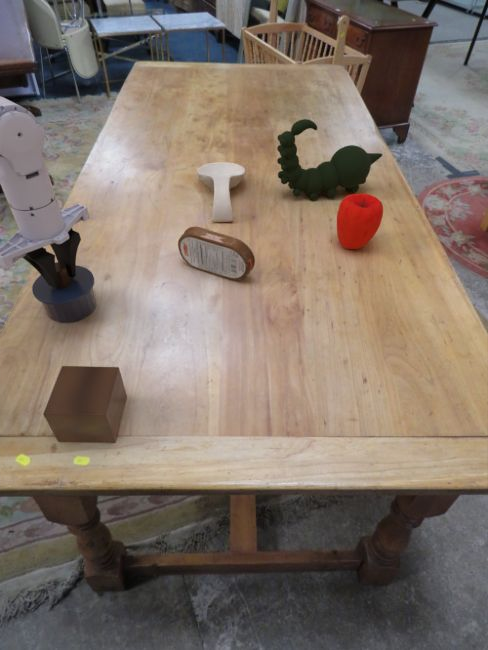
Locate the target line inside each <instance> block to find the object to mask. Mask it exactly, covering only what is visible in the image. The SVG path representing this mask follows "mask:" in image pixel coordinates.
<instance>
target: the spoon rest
mask: <svg viewBox="0 0 488 650" xmlns="http://www.w3.org/2000/svg"><path fill="white" fill-rule="evenodd" d="M196 174H197V176H198V178H199V179H200V180H201V182H202V183H203V184H205V186H207V187H209V188H210V189H211V190H212V191H213V203H212V210H211V211H212V212H211V221H212V222H213V223H214V222H215V223H222V222H223V223H224V222H225V223H228V222H230V223H231V222H233V221H234V212H233V207H232V202H231V194H230V190H232V189H233V188H235V187H237V186H238V185H239V184H240V183H241V182H242V181H243V179H244V177H245V175H246V168H244V166H242V165H241V164H238V163H235V162H229V161H215V162H208V163H204V164H201V166H199V167H198V168H197V170H196ZM231 188H232V189H231ZM229 189H230V190H229Z"/></svg>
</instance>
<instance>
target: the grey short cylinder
mask: <svg viewBox="0 0 488 650" xmlns="http://www.w3.org/2000/svg"><path fill="white" fill-rule="evenodd" d="M42 305H43V309H44V311H45V313H46V315H47V316H48V318H49V319H51V320H53V321H54V322H57V323H63V324H69V323H74V322H79V321H82V320H84V319H85V318H87V317H88V316H90V315H91V314H92V313H93V312H94V311H95V310H96V307H97V305H98V302H97V296H96V293H95V289H94V287H93V288H92V290H91V291H90V292H89V293H88V294H87V295H86V296H85V297H83V298H81V299H80V300H78V301H75V302H73V303H69V304H65V305H47V304H44V303H42Z"/></svg>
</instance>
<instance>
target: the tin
mask: <svg viewBox="0 0 488 650" xmlns="http://www.w3.org/2000/svg"><path fill="white" fill-rule="evenodd" d="M177 247H178V252H179V254H180V256H181V258H182V259H183V260H184V262H186V264H188V265H189V266H190V267H192V268H194V269H196V270H199V271H203V272H206V273H209V274H211V275H214V276H218V277H221V278H223V279H227V280H231V281H242V280H243V279H245V278H246V277H247V276H248V275H249V274H250V272H251V271H252V270H253V269H254V268H255V265H256V258H255V255H254V253H253V251H252V249H251V248H250V246H248V244H246V243H245V242H244V241H243V240H241V239H239V238H237V237H234V236H231V235H227V234H225V233H220V232H218V231H214V230H210V229H207V228H204V227H200V226H191V227H188V228H186V229H185V230H184V232H183V234H181V236H180V237H179V239H178V242H177Z"/></svg>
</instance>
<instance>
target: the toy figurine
mask: <svg viewBox="0 0 488 650" xmlns="http://www.w3.org/2000/svg"><path fill="white" fill-rule="evenodd" d="M309 129H312V130H314V131H317V130H318V125H317V124H316V123H315V122H314V121H312V120H311V119H307V118H306V119H305V118H303V119H299V120H297V121H296V122H294V123H293V124H292V125H291V128H290V130H285V131H283V132H282V133H281V134H278V135H277V140H278V141H279V145H277V148H276V149H277V152H279V155H280V156H279V157H278V158H277V160H276V161H277V164H278V165H280V171H278V173H277V178H278V179H280V183H281V184H282V185H287V186H288V188H289V190H292V192H291V193H292V195H293V197H296V198H298V197H300V196H301V195H302V192H303V193H304V194H306V195H308V197H309V199H310V200H312V201H315V200H317V199H318V197H319V194H320V193H321V192H325V194H326V195H327V197H328V198H334V197H335V196H336V195H337V193H338V190H337V189H338V188H339V187H341V188H344V190H345V191H346V192H347V193H349V192H350V193H349V194H356V193H357V192H358V191H359V189H360V186H361V185H364V184H365V183H366V182H367V178H368V176H369V174H370V171H371V166H372V165H373V164H374V163H375V162H377V161H378V160H380V159H381V158H382V157H383V153H379V152H374V153H373V152H367V151H366V149H364V148H363V147H360V146H358V145H354V144H350V145H346V146H342V147H341V148H339V149H338V150H337V151H335V152H334V153H333V155H332V156H331V158H330V160H328V161H322V162H321V163H320V164H318V165H317V166H316V167H309V168H307V169H305V168H303V167H302V165H301V164H300V159H299V156H298V154H297V153H298V148H297V147H298V146H297V144H296V136H300V135H301V134H303V132H305V131H306V130H309Z"/></svg>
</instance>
